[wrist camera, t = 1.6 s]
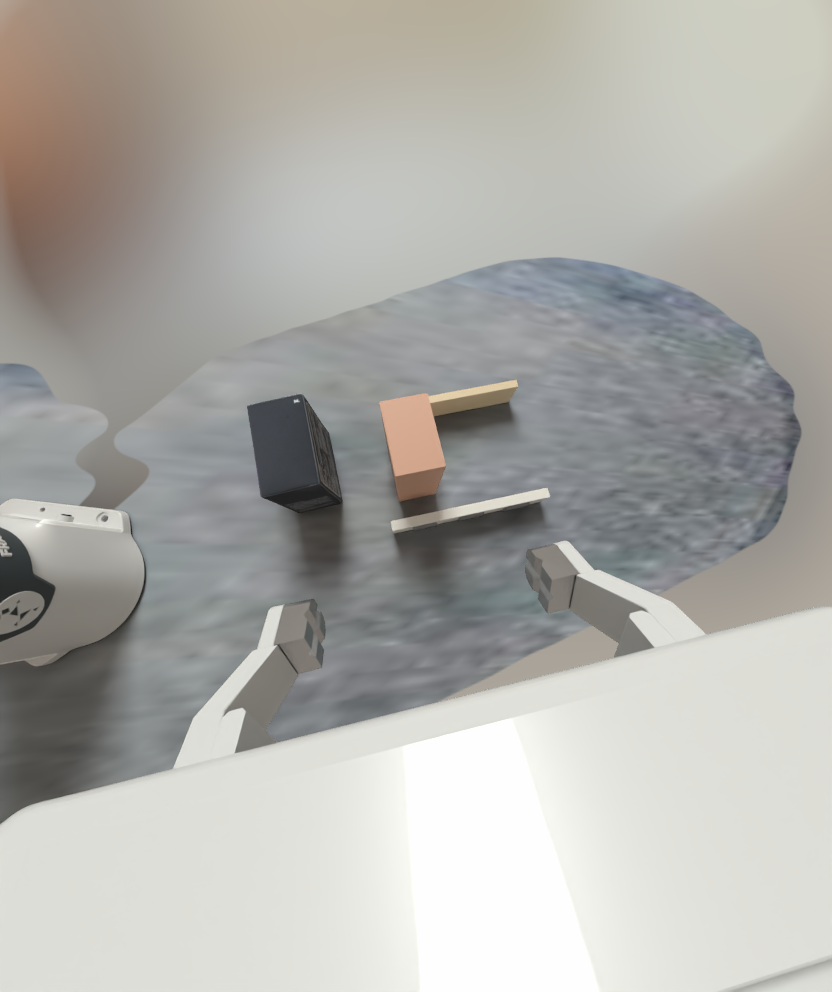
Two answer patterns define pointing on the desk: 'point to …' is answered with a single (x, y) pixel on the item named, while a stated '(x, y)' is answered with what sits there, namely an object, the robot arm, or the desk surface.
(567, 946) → the robot arm
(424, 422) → the carton
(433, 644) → the desk surface
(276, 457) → the small box
